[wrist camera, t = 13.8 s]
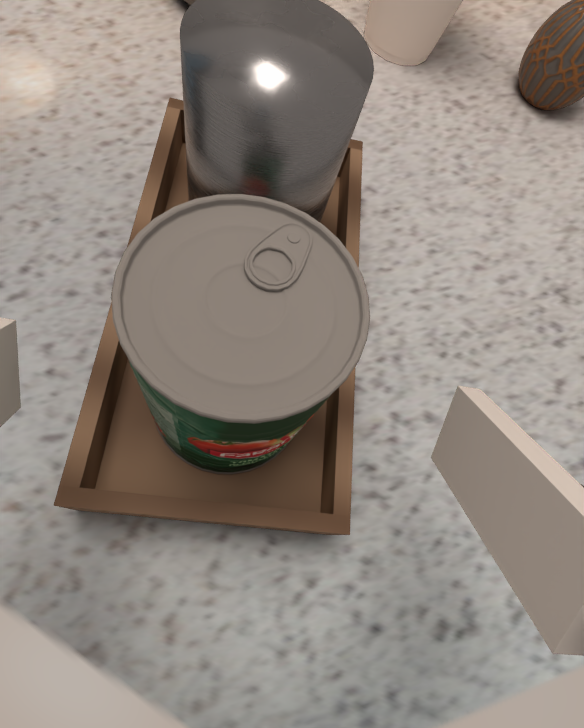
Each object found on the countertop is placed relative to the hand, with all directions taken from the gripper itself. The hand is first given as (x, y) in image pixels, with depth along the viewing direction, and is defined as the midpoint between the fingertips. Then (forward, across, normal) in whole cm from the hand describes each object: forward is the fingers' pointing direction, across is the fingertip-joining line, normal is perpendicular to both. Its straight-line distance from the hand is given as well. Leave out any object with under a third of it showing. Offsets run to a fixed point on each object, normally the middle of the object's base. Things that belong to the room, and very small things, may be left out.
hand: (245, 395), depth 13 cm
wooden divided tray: (+14, 0, -2) cm, 14 cm away
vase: (+34, +24, +18) cm, 45 cm away
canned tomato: (+9, 0, -5) cm, 11 cm away
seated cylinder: (+18, 0, +3) cm, 18 cm away
